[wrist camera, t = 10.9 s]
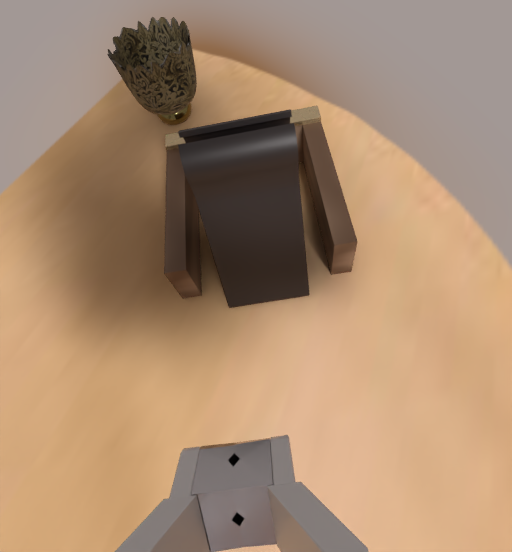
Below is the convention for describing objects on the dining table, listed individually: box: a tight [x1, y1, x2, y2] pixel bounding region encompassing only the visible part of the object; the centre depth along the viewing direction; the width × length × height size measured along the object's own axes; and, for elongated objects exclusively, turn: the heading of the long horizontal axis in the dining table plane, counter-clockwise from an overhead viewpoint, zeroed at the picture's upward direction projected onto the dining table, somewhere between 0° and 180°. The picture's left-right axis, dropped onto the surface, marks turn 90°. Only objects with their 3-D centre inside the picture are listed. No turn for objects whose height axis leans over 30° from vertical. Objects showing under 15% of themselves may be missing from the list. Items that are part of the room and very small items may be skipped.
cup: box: [108, 17, 196, 125], centre depth 35 cm, size 8×7×8 cm
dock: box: [164, 106, 357, 298], centre depth 28 cm, size 13×14×4 cm
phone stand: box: [178, 110, 309, 308], centre depth 23 cm, size 9×6×12 cm, turn 6°
